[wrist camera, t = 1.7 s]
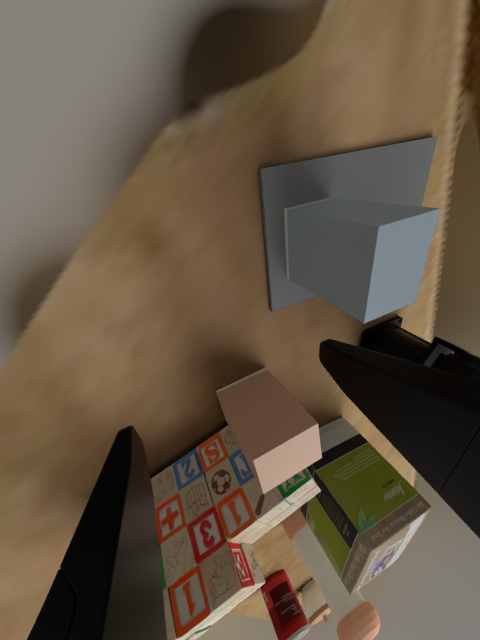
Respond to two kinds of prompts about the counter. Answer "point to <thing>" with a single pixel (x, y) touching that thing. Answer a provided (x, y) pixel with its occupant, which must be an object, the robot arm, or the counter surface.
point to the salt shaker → (332, 584)
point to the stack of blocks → (215, 531)
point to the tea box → (360, 506)
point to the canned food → (284, 607)
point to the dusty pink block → (270, 428)
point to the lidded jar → (314, 603)
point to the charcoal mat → (336, 196)
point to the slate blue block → (359, 253)
